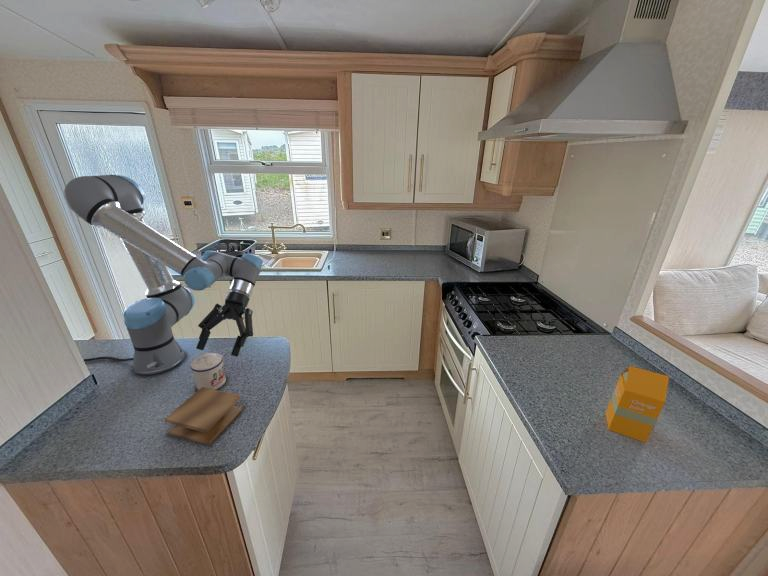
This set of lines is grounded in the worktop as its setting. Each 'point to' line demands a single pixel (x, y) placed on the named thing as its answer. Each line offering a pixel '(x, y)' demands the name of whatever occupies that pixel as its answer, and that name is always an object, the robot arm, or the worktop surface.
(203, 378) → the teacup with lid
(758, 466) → the worktop surface
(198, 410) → the cup stand
